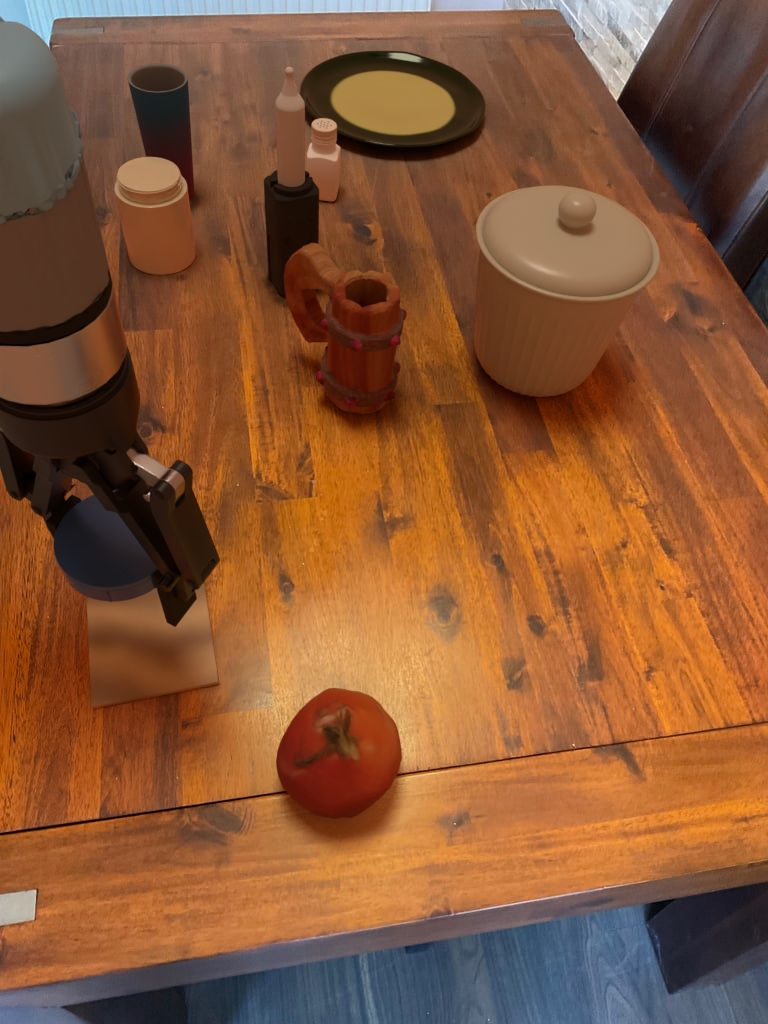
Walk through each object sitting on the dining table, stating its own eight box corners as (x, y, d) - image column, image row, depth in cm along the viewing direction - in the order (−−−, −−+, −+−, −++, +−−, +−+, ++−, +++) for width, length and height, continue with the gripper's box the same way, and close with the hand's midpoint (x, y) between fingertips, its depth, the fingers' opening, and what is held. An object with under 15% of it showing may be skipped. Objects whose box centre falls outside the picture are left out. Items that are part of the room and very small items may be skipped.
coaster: (87, 601, 69) (86, 598, 69) (204, 581, 71) (204, 578, 71) (92, 709, 64) (91, 706, 63) (219, 684, 66) (218, 681, 65)
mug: (415, 399, 86) (433, 286, 74) (364, 439, 82) (374, 326, 70) (318, 332, 91) (320, 215, 79) (266, 366, 88) (259, 250, 75)
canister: (428, 324, 94) (455, 154, 77) (564, 300, 98) (618, 134, 81) (489, 436, 84) (536, 270, 67) (637, 404, 89) (716, 241, 72)
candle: (265, 274, 97) (254, 58, 76) (303, 264, 98) (303, 50, 78) (281, 299, 94) (274, 84, 74) (321, 289, 96) (325, 75, 76)
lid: (172, 604, 54) (168, 589, 52) (48, 601, 53) (40, 587, 52) (187, 505, 59) (184, 490, 57) (73, 502, 58) (67, 486, 57)
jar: (114, 260, 96) (96, 178, 87) (155, 226, 100) (141, 146, 92) (170, 283, 94) (156, 202, 86) (209, 248, 99) (199, 168, 90)
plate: (309, 57, 129) (309, 41, 127) (480, 74, 131) (482, 58, 128) (290, 150, 113) (290, 133, 111) (486, 170, 114) (489, 153, 112)
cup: (192, 213, 103) (177, 96, 90) (140, 205, 103) (118, 86, 91) (207, 184, 107) (195, 68, 94) (157, 176, 107) (138, 59, 95)
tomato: (400, 718, 65) (410, 677, 59) (393, 836, 60) (404, 805, 53) (286, 707, 65) (284, 665, 58) (270, 825, 60) (265, 792, 53)
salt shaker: (339, 187, 109) (342, 118, 101) (335, 203, 106) (338, 134, 99) (310, 183, 109) (310, 114, 101) (305, 200, 106) (305, 130, 99)
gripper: (267, 390, 41) (279, 606, 60) (-49, 253, 46) (53, 494, 64) (181, 489, 37) (223, 689, 55) (-157, 329, 42) (-15, 563, 60)
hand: (132, 585), depth 60 cm, fingers closed on lid, 8 cm apart
